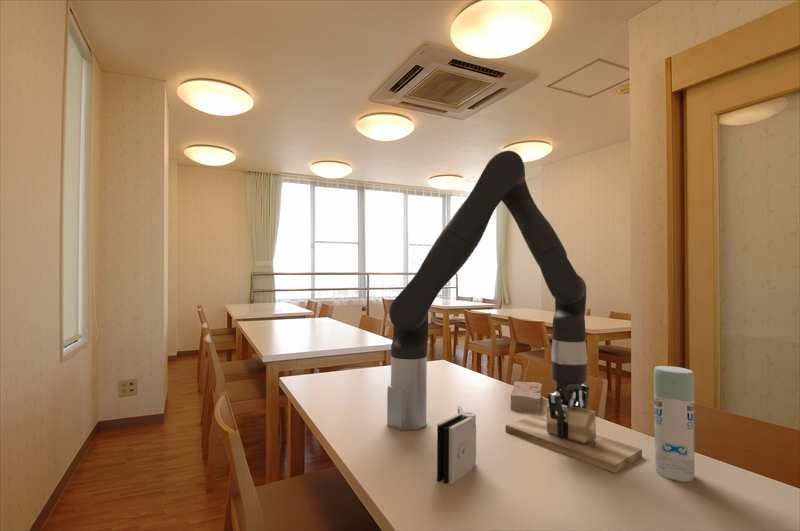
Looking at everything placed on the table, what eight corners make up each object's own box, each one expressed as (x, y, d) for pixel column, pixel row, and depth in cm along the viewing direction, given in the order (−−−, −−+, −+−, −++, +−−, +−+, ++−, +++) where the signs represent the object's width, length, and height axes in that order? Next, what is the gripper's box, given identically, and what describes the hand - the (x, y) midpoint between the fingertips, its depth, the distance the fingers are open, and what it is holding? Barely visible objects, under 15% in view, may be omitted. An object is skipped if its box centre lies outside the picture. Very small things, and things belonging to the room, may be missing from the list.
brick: (540, 414, 113) (540, 397, 113) (509, 410, 116) (509, 393, 116) (541, 397, 128) (542, 382, 128) (514, 394, 131) (514, 380, 131)
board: (615, 473, 78) (614, 464, 78) (505, 431, 99) (505, 424, 99) (642, 456, 85) (641, 449, 86) (534, 421, 106) (534, 415, 106)
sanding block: (584, 444, 87) (584, 416, 87) (546, 431, 94) (546, 405, 94) (595, 438, 90) (595, 411, 90) (558, 426, 97) (558, 401, 97)
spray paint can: (696, 485, 74) (695, 375, 74) (654, 476, 77) (653, 370, 78) (693, 471, 79) (692, 368, 80) (654, 463, 83) (653, 364, 83)
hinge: (457, 452, 87) (458, 405, 87) (482, 457, 85) (482, 409, 85) (433, 481, 75) (434, 426, 75) (461, 488, 72) (462, 431, 73)
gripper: (570, 353, 100) (570, 423, 100) (536, 360, 91) (536, 437, 91) (600, 358, 94) (601, 432, 94) (567, 366, 86) (568, 448, 85)
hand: (569, 434), depth 92 cm, fingers closed on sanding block, 5 cm apart
